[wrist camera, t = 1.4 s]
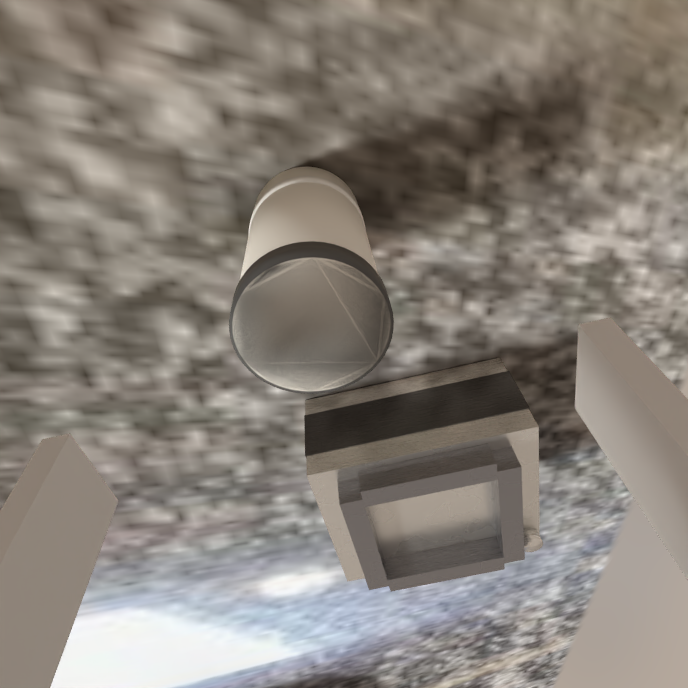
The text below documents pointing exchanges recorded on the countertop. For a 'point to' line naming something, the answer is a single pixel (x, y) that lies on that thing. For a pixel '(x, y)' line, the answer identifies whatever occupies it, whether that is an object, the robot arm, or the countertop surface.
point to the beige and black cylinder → (309, 287)
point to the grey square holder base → (426, 475)
